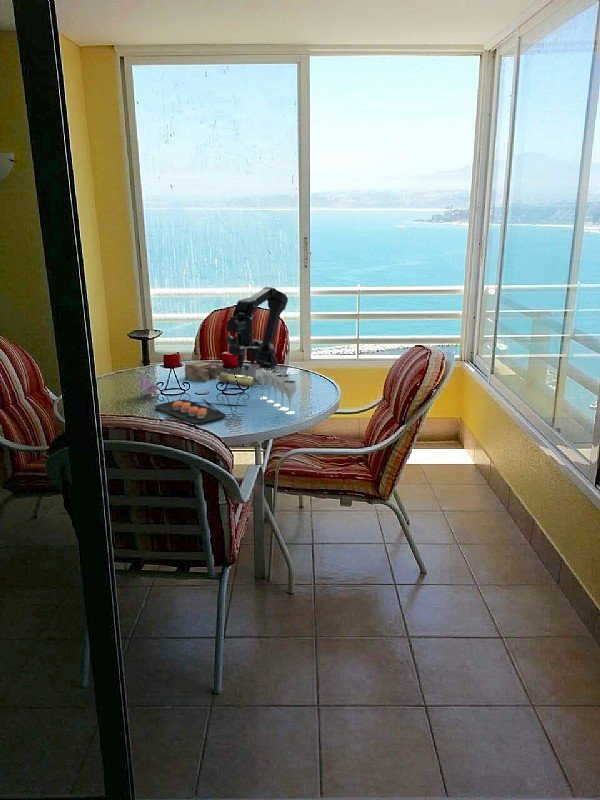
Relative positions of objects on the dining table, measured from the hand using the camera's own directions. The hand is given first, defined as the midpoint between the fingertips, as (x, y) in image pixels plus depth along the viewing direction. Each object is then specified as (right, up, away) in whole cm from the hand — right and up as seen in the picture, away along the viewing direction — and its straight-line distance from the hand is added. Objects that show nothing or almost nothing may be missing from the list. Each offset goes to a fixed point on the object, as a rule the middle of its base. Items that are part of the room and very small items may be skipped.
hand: (246, 366), depth 272 cm
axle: (-5, -6, +5) cm, 9 cm away
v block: (-8, -2, +24) cm, 25 cm away
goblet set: (+13, -17, -25) cm, 33 cm away
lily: (-38, -14, -17) cm, 44 cm away
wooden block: (-21, -5, +14) cm, 26 cm away
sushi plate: (-12, -19, -32) cm, 39 cm away
